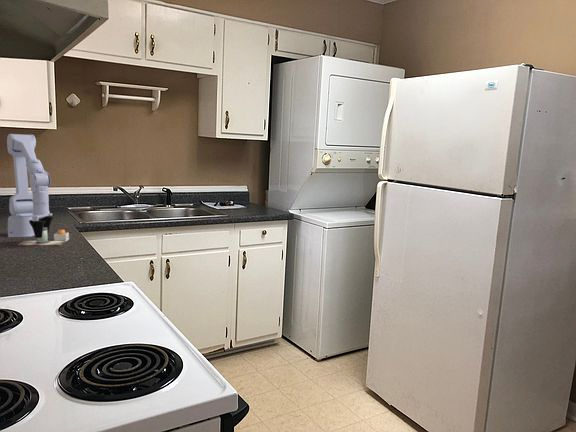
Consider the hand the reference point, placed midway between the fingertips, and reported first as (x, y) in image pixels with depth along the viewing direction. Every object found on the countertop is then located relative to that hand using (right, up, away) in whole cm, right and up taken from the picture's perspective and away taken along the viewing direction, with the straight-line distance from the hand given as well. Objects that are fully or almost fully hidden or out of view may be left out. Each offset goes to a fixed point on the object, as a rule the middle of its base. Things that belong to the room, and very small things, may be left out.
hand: (42, 235), depth 196 cm
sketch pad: (0, -3, 0) cm, 3 cm away
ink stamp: (0, -3, 0) cm, 3 cm away
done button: (+4, -1, +8) cm, 9 cm away
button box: (+4, -2, +8) cm, 9 cm away
